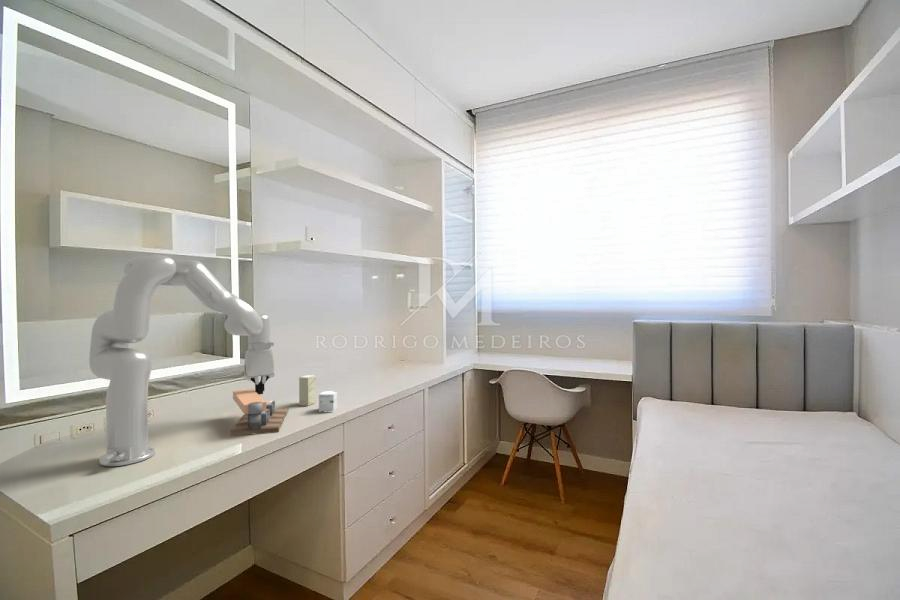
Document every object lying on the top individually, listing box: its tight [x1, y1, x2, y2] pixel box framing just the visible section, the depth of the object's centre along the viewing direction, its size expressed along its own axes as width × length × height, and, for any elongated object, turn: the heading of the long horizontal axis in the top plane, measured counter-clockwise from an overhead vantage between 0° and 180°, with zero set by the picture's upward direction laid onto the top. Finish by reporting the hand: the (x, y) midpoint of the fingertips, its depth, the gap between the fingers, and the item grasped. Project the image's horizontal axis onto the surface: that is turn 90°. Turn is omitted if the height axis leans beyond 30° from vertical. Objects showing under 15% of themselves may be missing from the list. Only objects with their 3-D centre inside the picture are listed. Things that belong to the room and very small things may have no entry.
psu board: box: [230, 400, 289, 436], centre depth 152 cm, size 27×15×7 cm, turn 14°
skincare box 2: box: [318, 390, 338, 413], centre depth 169 cm, size 6×6×7 cm
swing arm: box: [232, 388, 267, 415], centre depth 150 cm, size 27×7×3 cm, turn 35°
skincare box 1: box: [298, 374, 316, 407], centre depth 179 cm, size 6×4×12 cm
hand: (259, 393), depth 160 cm, fingers closed
